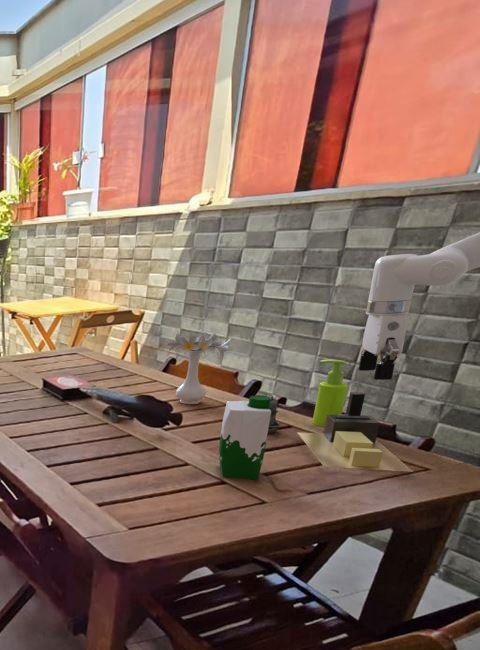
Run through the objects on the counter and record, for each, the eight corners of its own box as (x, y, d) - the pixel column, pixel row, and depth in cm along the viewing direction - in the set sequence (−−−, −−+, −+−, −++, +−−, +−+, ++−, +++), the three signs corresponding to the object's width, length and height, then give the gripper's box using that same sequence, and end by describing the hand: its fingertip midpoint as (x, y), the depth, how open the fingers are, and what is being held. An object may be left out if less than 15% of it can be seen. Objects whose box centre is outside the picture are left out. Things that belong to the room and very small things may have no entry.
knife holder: (365, 436, 133) (370, 415, 131) (374, 444, 128) (380, 422, 126) (323, 434, 137) (327, 414, 135) (330, 442, 132) (334, 421, 130)
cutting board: (370, 439, 133) (371, 435, 133) (412, 476, 113) (413, 471, 113) (296, 436, 140) (297, 432, 140) (323, 470, 120) (324, 466, 120)
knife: (360, 438, 132) (371, 392, 127) (363, 441, 130) (374, 394, 126) (331, 437, 134) (341, 392, 130) (334, 440, 133) (344, 394, 128)
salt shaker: (252, 430, 147) (258, 392, 143) (277, 432, 144) (284, 393, 140) (254, 437, 143) (260, 398, 139) (280, 439, 140) (287, 399, 136)
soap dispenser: (309, 422, 148) (322, 357, 142) (340, 426, 143) (354, 359, 137) (304, 427, 145) (317, 361, 138) (335, 432, 140) (350, 363, 133)
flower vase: (226, 407, 168) (236, 334, 160) (165, 407, 175) (171, 337, 167) (217, 396, 179) (225, 327, 171) (160, 396, 186) (165, 330, 178)
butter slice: (375, 464, 118) (379, 449, 117) (379, 467, 116) (383, 452, 115) (348, 462, 120) (351, 447, 119) (351, 465, 119) (354, 450, 117)
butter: (357, 446, 128) (360, 432, 126) (369, 458, 121) (373, 443, 120) (332, 445, 130) (335, 431, 129) (343, 456, 123) (346, 442, 122)
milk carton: (263, 481, 119) (276, 403, 112) (218, 478, 123) (228, 402, 116) (256, 467, 126) (269, 392, 119) (214, 464, 130) (224, 391, 123)
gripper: (426, 310, 112) (410, 383, 118) (392, 302, 127) (379, 366, 132) (382, 313, 115) (368, 383, 121) (354, 304, 130) (343, 367, 135)
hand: (374, 374), depth 126 cm, fingers open, 9 cm apart
